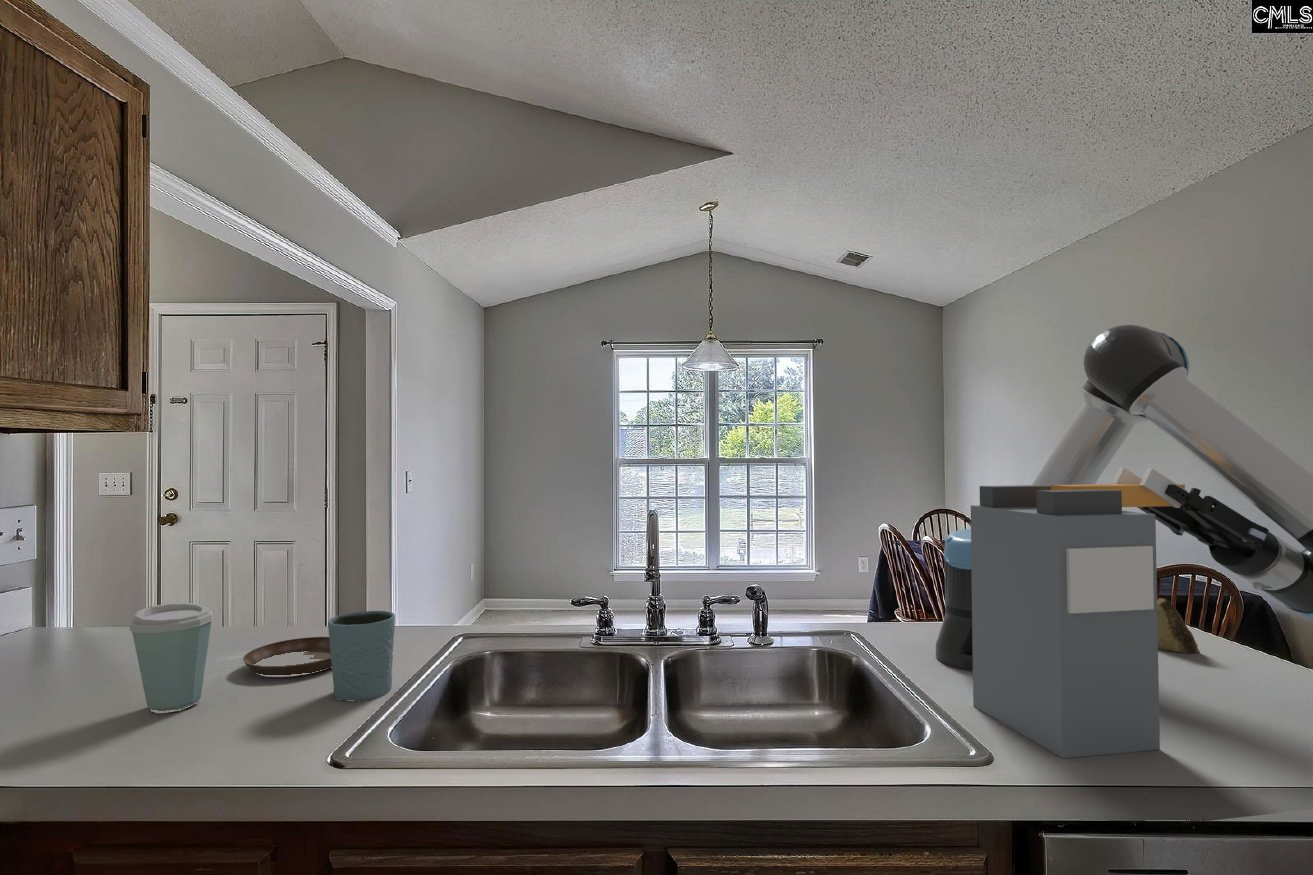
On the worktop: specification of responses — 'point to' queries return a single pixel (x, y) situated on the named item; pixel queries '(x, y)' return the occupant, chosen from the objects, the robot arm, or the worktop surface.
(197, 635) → the disposable coffee cup
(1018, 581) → the breaker panel
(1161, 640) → the rock
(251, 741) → the worktop surface
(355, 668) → the teal embossed cup
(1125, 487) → the handle
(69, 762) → the worktop surface
